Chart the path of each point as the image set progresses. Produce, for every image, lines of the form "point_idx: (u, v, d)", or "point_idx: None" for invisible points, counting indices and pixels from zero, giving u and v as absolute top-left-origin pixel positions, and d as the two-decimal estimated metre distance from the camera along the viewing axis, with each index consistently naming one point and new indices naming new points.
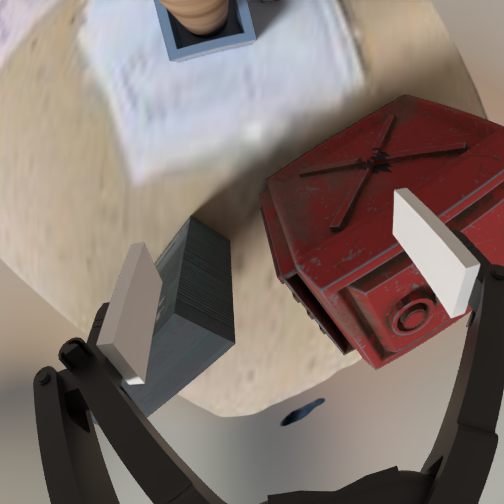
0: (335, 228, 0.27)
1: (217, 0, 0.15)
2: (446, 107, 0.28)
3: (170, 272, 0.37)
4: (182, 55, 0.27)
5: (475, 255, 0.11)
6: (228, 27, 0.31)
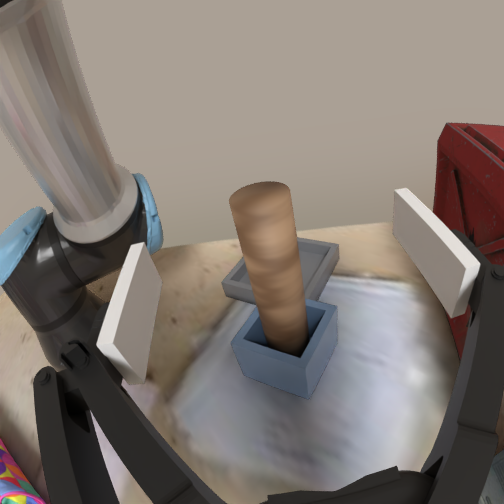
0: None
1: None
2: (434, 206, 0.41)
3: None
4: (309, 357, 0.31)
5: (475, 255, 0.11)
6: None
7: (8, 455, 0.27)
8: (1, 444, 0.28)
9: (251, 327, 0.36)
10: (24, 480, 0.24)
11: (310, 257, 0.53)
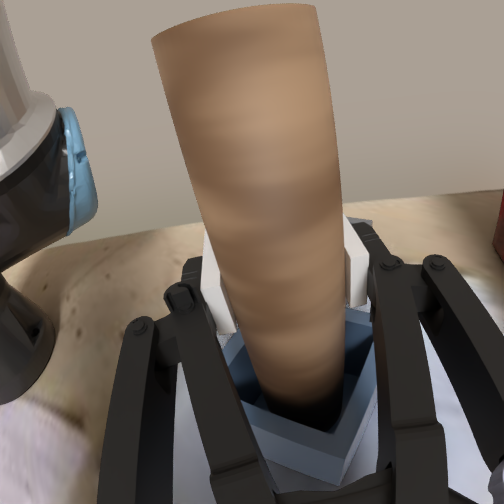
0: None
1: None
2: None
3: None
4: (352, 433, 0.13)
5: (375, 246, 0.13)
6: None
7: None
8: None
9: (232, 363, 0.18)
10: None
11: None
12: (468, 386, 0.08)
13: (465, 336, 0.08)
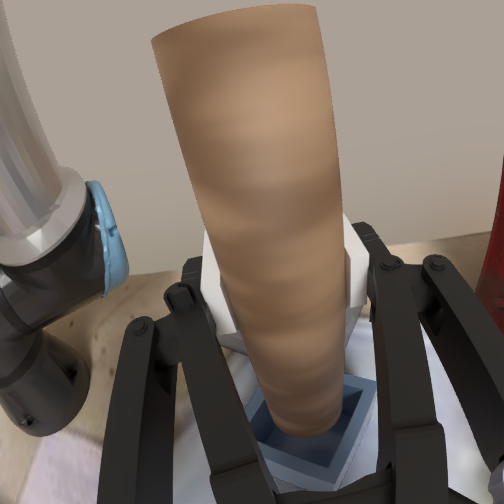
0: None
1: None
2: (493, 228, 0.28)
3: None
4: (340, 466, 0.18)
5: (375, 246, 0.13)
6: (336, 424, 0.26)
7: None
8: None
9: (254, 415, 0.23)
10: None
11: None
12: (468, 386, 0.08)
13: (465, 336, 0.08)
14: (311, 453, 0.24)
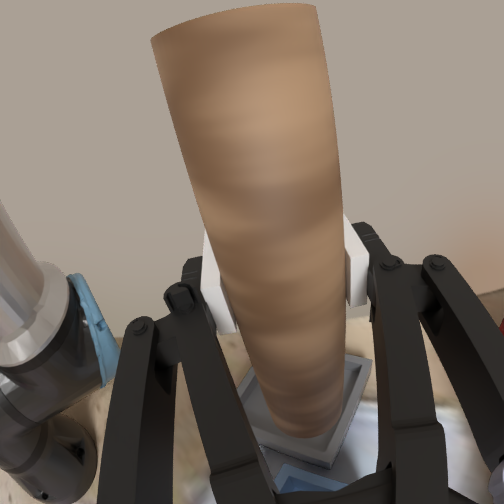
0: None
1: None
2: None
3: None
4: None
5: (375, 246, 0.13)
6: None
7: None
8: None
9: None
10: None
11: None
12: (468, 386, 0.08)
13: (465, 336, 0.08)
14: None
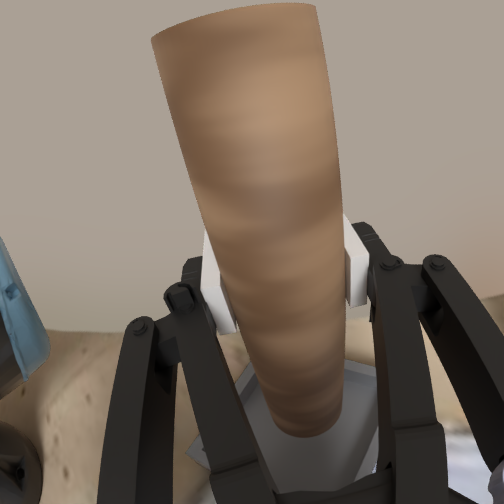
0: None
1: None
2: None
3: None
4: None
5: (375, 246, 0.13)
6: None
7: None
8: None
9: None
10: None
11: (352, 394, 0.26)
12: (468, 386, 0.08)
13: (465, 336, 0.08)
14: None
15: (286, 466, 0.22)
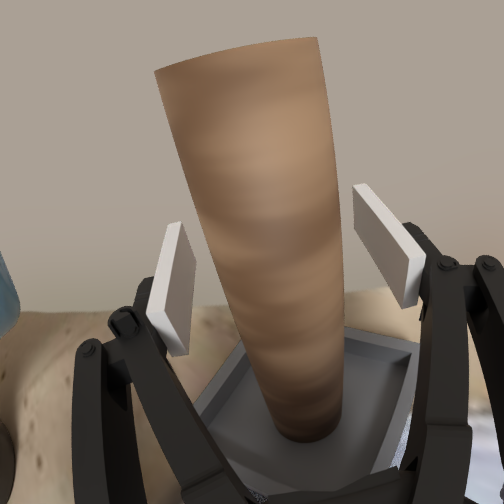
0: None
1: None
2: None
3: None
4: None
5: (426, 247, 0.12)
6: None
7: None
8: None
9: None
10: None
11: (363, 370, 0.23)
12: (500, 386, 0.07)
13: None
14: None
15: (287, 456, 0.18)
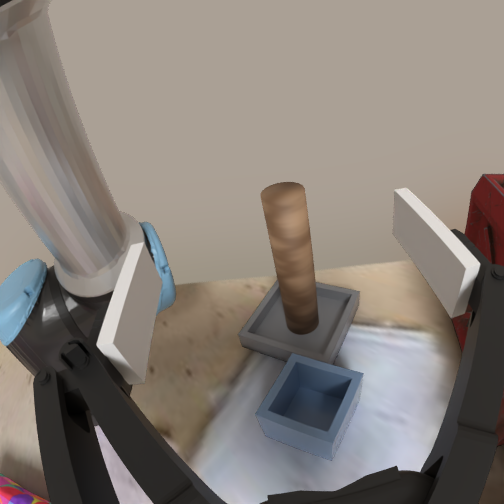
0: None
1: None
2: None
3: None
4: (336, 431, 0.28)
5: (475, 255, 0.11)
6: (333, 405, 0.36)
7: None
8: (16, 483, 0.27)
9: (276, 396, 0.33)
10: None
11: (329, 304, 0.50)
12: None
13: None
14: (315, 426, 0.34)
15: (294, 340, 0.46)
